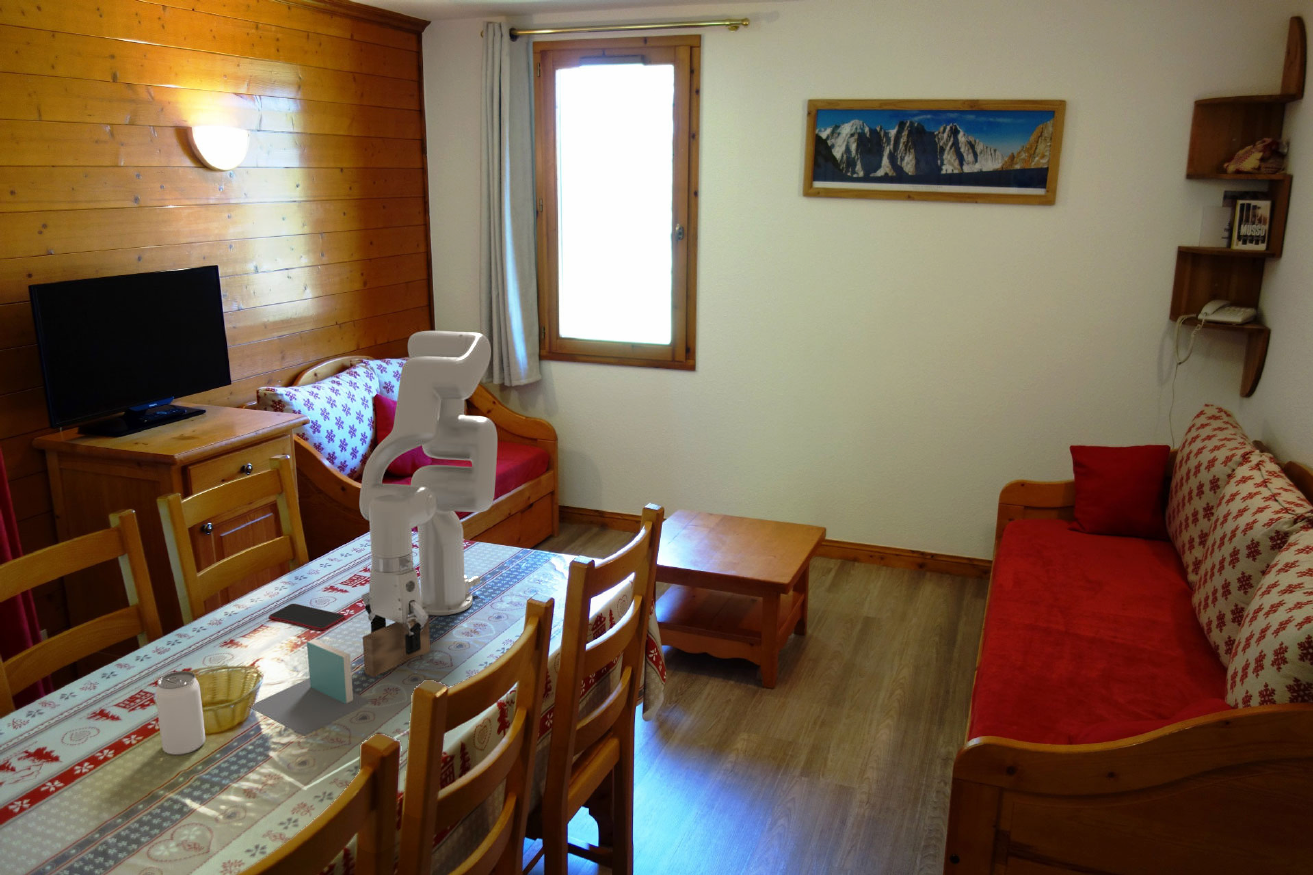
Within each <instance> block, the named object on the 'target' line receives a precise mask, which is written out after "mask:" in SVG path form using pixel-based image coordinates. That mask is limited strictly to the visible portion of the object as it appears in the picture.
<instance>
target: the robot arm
mask: <svg viewBox="0 0 1313 875" xmlns="http://www.w3.org/2000/svg"><path fill="white" fill-rule="evenodd" d="M407 352H408V357H409V359H407V360H406V361H405V362H404V363H403V365H402V368H401V371H400V379H399V384H398V393H397V400H396V406H395V413H394V414H395V415H394V419H393V420H394V421H393V428H392V430H391V432H390V433H389V434H388V435H387V436H386V437H385V438H384V439H383V440H382V441H381V442H379V444H378V445H377V446H376V447H375V449H374V450H373V452H372V453H371V454H370V455H369V458H367V461H366V464H365V466H364V468H363V473H362V478H361V479H362V480H361V486H360V492H359V509H360V513H361V515H362V516H363V518H364V519H365V520H366V521H369V534H370V535H369V537H370V558H371V567H370V572H369V574H370V575H369V585H368V586H369V587H368V588H369V589H368V592H366V593H363V594H362V595H361V598H362V601H363V604H364V609H365V611H366V612H367V615H368V616H367V619H368V621H370V633H372V632H375V631H377V630H379V629H381V628H384V627H386V626H387V620H390V621H392V622H393V623H395V622H397V623H401V624H403V626H404V628H405V630H406V632H407V634H406V635H405V647H406V654H408V655H410V654H412V653H414V652H417V651H419V650H420V649H421V641H420V631H422V630H423V628H424V627H425V625H426V624H425V623H426V621H427V619H428V615H429V616H437V617H438V616H449V615H450V616H451V615H454V614H458V613H461V612H463V611H465V610H467V609H469V608H470V607H471V606H472V604H473V601H474V600H473V595H472V594H471V592H469V591H470V590H471V589H472V587H475V586H477V585H479V584H481V579H480V577H479V576H478V575H475V576H473V577H470V578H468V577H467V576H466V575H465V554H464V553H465V552H464V550H465V549H464V527H463V524H462V522H461V519H460V517H459V516H458V515H457V514H456V512H469V513H473V512H474V513H481V512H486V511H488V510H490V508H491V507H492V506H493V501H494V499H495V492H496V491H495V488H496V476H497V475H496V473H497V459H498V457H497V456H498V432H497V428H496V425H495V423H494V422H493V421H492V420H491V419H490V418H488V417H485V416H481V415H465V400H467V399H469V398H470V397H472V395H473V394H474V392H475V391H476V389H477V387H478V385H479V383H480V382H481V379H482V378H483V377H484V375H485V373H486V371H487V369H488V367H489V365H490V361H491V358H492V357H491V355H492V354H491V353H492V348H491V343H490V340H489V339H488V337H486V336H485V334H482V333H479V332H472V331H469V332H468V331H466V332H465V331H451V330H450V331H448V330H447V331H446V330H424V331H423V330H422V331H417V332H415V333H413V334H412V335H410V336H409V338H408V342H407ZM421 446H422V447H421ZM419 447H421V449H422V451H423V453H424V454H425V455H426V456H428V458H429V457H430V458H434V459H438V460H439V459H441V460H459V461H470V462H471V465H472V466H461V465H459V466H457V465H445V464H444V465H443V464H433V465H432V464H431V465H430V464H429V465H425V466H421V467H419V468H418V469H417V470H416V471H415V472H414V473H413V475H412V478H411V481H410V485H409V484H398V483H396V484H395V483H383V479H384V474H385V472H386V470H387V469H388V467H389V465H390V464H391V463H392V462H393V461H394V460H395V459H396V458H398V457H399V456H401V455H402V454H404V453H407V452H408V451H409V452H410V451H411V450H413V449H416V448H419ZM416 527H417V543H418V562H419V577H418V574H417V570H416V568H415V567H414V565H415V563H414V558H413V557H414V556H413V555H414V554H413V535H412V534H413V532H412V531H413V530H412V529H413V528H416ZM427 614H428V615H427ZM408 616H410V617H409V618H407V619H406V617H408ZM386 619H387V620H386ZM410 621H412V622H413V624H414V626H413V627H412V628H411V626H410V624H409V622H410Z"/></svg>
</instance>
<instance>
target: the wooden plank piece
mask: <svg viewBox="0 0 1313 875" xmlns="http://www.w3.org/2000/svg"><path fill="white" fill-rule="evenodd" d="M427 615H428V614H427ZM429 616H430V615H428V619H427V621H426V623H425V624H426V625H425V627H424V628H423V630H422V631H420V641H421V649H420V650H419V651H417V652H414V653H412V654H410V655H408V654H406V647H405V635H406V634H407V632H406V630H405V628H404V626H403V624H401V623H397V622H393V623H391V624H388V625H386V627H384V628H381V629H379V630H377V631H375V632H372V633H371V632H370V633H369V634H366V635H364V636H362V649H363V661H364V662H363V664H364V674H366V675H368V676H371V677H372V678H374V677H375V678H376V677H377V676H379V675H381V674H383V673H386V672H387V671H389V670H391V669H393V668H395V667H397V666H399V665H401V664H404V663H406V662H407V661H410V660H412V659H414V658H415V657H417V656H420V655H422V656H424V655H426V654H428V653H430V652H431V642H430V641H431V638H430V637H431V636H430V618H429ZM409 617H410V615H408V617H406V619H407V618H409ZM409 624H410V626H411V628H412V627H413V626H414V624H413V622H412V621H410V622H409Z"/></svg>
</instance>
